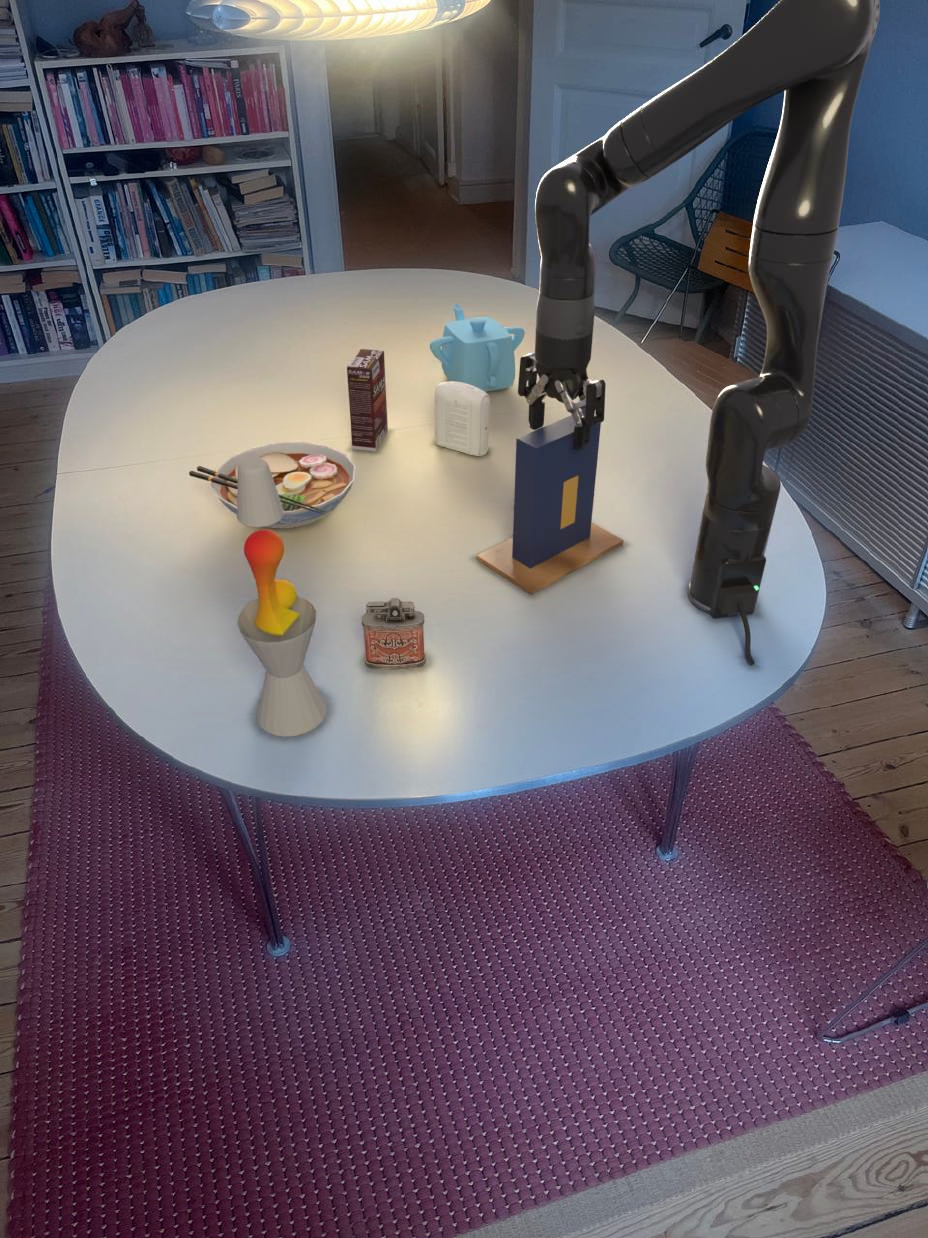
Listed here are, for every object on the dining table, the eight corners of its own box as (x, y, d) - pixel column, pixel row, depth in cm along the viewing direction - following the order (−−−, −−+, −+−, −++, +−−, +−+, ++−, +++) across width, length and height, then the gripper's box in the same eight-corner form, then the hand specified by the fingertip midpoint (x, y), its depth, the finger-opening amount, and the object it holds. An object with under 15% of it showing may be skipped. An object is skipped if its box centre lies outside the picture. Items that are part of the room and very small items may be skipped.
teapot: (531, 377, 197) (534, 313, 189) (495, 408, 186) (496, 341, 178) (455, 360, 204) (455, 298, 196) (415, 388, 193) (413, 323, 185)
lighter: (425, 653, 128) (423, 593, 121) (425, 669, 125) (423, 609, 119) (365, 654, 127) (360, 594, 121) (364, 671, 125) (359, 610, 119)
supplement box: (377, 452, 172) (371, 369, 162) (351, 450, 173) (344, 367, 163) (389, 431, 178) (385, 349, 169) (364, 428, 179) (359, 347, 169)
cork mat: (567, 513, 155) (568, 509, 155) (623, 544, 148) (623, 540, 148) (476, 559, 145) (476, 555, 145) (531, 594, 138) (531, 590, 137)
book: (536, 448, 129) (602, 419, 136) (515, 437, 132) (581, 410, 138) (530, 569, 142) (590, 537, 148) (511, 557, 144) (571, 526, 151)
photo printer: (492, 449, 173) (493, 385, 165) (481, 459, 170) (481, 394, 162) (443, 436, 177) (442, 373, 169) (431, 445, 174) (430, 382, 166)
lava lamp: (306, 745, 114) (268, 492, 92) (241, 726, 117) (189, 475, 95) (340, 698, 121) (312, 450, 99) (278, 680, 123) (238, 436, 102)
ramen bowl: (392, 502, 158) (389, 459, 153) (306, 571, 143) (300, 525, 137) (274, 465, 168) (268, 423, 163) (183, 526, 153) (173, 481, 148)
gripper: (624, 333, 122) (613, 447, 132) (546, 304, 131) (540, 413, 141) (584, 348, 118) (576, 464, 128) (506, 317, 127) (503, 428, 137)
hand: (557, 437), depth 135 cm, fingers open, 8 cm apart
